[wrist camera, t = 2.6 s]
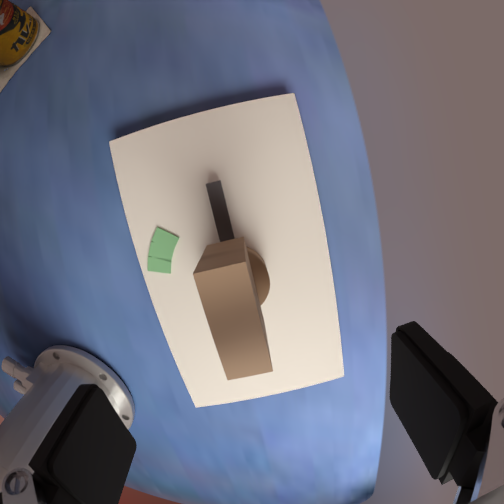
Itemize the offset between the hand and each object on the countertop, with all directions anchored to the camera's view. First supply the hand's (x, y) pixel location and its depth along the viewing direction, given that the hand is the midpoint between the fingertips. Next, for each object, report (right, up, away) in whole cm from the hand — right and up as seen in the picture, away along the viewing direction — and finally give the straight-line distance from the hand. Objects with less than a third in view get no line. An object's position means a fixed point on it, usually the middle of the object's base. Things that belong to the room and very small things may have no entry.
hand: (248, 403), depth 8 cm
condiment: (-25, +26, +9) cm, 37 cm away
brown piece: (-1, +5, +13) cm, 14 cm away
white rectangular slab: (-1, +3, +15) cm, 16 cm away
